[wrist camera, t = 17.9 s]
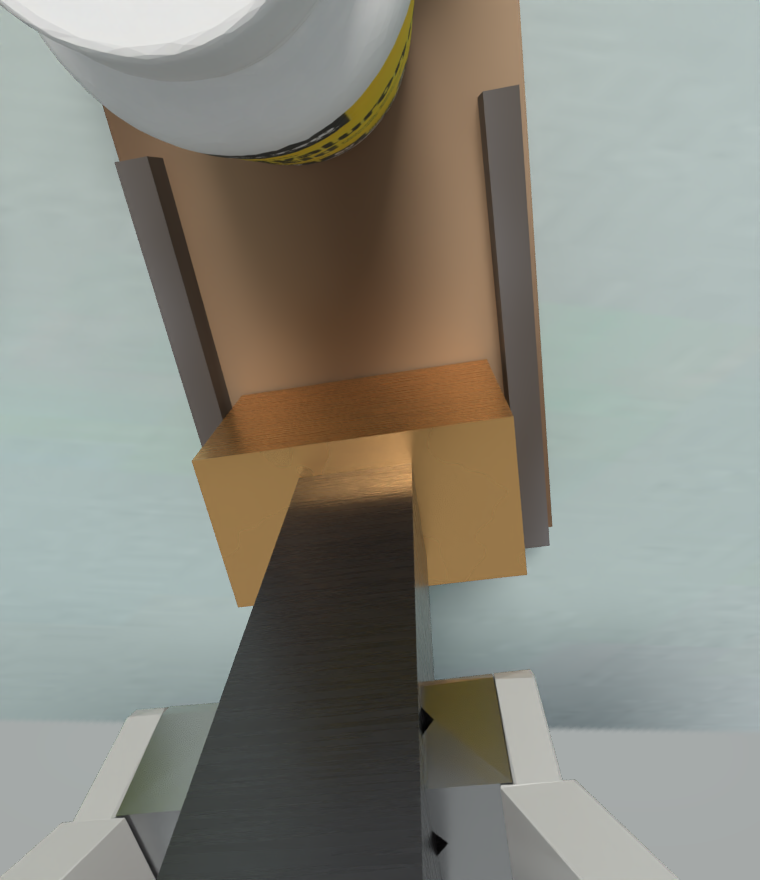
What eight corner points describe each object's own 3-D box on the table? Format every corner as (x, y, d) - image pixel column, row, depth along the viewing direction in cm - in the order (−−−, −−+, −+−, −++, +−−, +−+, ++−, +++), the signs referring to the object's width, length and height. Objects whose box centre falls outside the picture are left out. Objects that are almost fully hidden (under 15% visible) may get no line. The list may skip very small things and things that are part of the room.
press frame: (252, 538, 21) (178, 713, 14) (31, -224, 13) (-370, -662, 6) (542, 502, 20) (615, 671, 13) (483, -343, 12) (584, -1010, 5)
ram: (274, 515, 19) (24, 1156, 6) (241, 395, 17) (-169, 934, 5) (499, 486, 18) (705, 1141, 6) (486, 358, 16) (730, 878, 4)
